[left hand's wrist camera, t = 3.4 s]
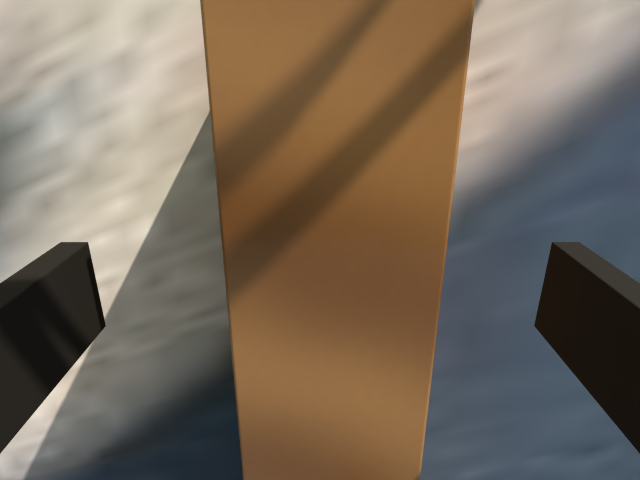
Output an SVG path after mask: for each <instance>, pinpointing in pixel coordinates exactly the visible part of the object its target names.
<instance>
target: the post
mask: <svg viewBox="0 0 640 480" xmlns="http://www.w3.org/2000/svg"><path fill="white" fill-rule="evenodd" d="M200 3H201V14H202V26H203V37H204V48H205V59H206V71H207V82H208V93H209V104H210V115H211V127H212V138H213V149H214V160H215V172H216V183H217V194H218V205H219V216H220V228H221V239H222V250H223V261H224V273H225V284H226V295H227V306H228V317H229V329H230V340H231V351H232V362H233V374H234V385H235V396H236V407H237V418H238V430H239V441H240V452H241V463H242V474H243V480H420V473H421V464H422V456H423V447H424V439H425V430H426V421H427V413H428V404H429V395H430V387H431V378H432V369H433V361H434V352H435V343H436V335H437V326H438V317H439V309H440V300H441V291H442V283H443V274H444V265H445V257H446V248H447V240H448V231H449V222H450V214H451V205H452V196H453V188H454V179H455V170H456V162H457V153H458V144H459V136H460V127H461V118H462V110H463V101H464V92H465V84H466V75H467V67H468V58H469V49H470V41H471V32H472V23H473V15H474V6H475V0H200Z"/></svg>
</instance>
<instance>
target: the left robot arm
mask: <svg viewBox="0 0 640 480" xmlns="http://www.w3.org/2000/svg"><path fill="white" fill-rule="evenodd" d="M105 326H106V325H105V320H104V316H103V311H102V306H101V302H100V297H99V292H98V287H97V283H96V278H95V273H94V269H93V264H92V259H91V254H90V250H89V245H88V242H61V243H59V244H58V245H56V246H55V247H53V248H52V249H50V250H49V251H47V252H46V253H44V254H43V255H41V256H40V257H38V258H37V259H36V260H34V261H33V262H31V263H30V264H28V265H27V266H25V267H24V268H22V269H21V270H19V271H18V272H16V273H15V274H13V275H12V276H10V277H9V278H8V279H6V280H5V281H3V282H2V283H0V453H1V452H2V451H3V449H4V448H5V447H6V446H7V445H8V443H9V442H10V441H11V440H12V439H13V437H14V436H15V435H16V434H17V433H18V431H19V430H20V429H21V428H22V426H23V425H24V424H25V423H26V422H27V420H28V419H29V418H30V417H31V416H32V414H33V413H34V412H35V411H36V410H37V408H38V407H39V406H40V405H41V403H42V402H43V401H44V400H45V399H46V397H47V396H48V395H49V394H50V393H51V391H52V390H53V389H54V388H55V387H56V385H57V384H58V383H59V382H60V380H61V379H62V378H63V377H64V376H65V374H66V373H67V372H68V371H69V370H70V368H71V367H72V366H73V365H74V363H75V362H76V361H77V360H78V359H79V357H80V356H81V355H82V354H83V353H84V351H85V350H86V349H87V348H88V347H89V345H90V344H91V343H92V342H93V340H94V339H95V338H96V337H97V336H98V334H99V333H100V332H101V331H102V330H103V328H104V327H105ZM534 326H535V327H536V328H537V330H538V331H539V332H540V333H541V334H542V336H543V337H544V338H545V339H546V340H547V342H548V343H549V344H550V345H551V347H552V348H553V349H554V350H555V351H556V353H557V354H558V355H559V356H560V357H561V359H562V360H563V361H564V362H565V363H566V365H567V366H568V367H569V368H570V370H571V371H572V372H573V373H574V374H575V376H576V377H577V378H578V379H579V380H580V382H581V383H582V384H583V385H584V387H585V388H586V389H587V390H588V391H589V393H590V394H591V395H592V396H593V397H594V399H595V400H596V401H597V402H598V403H599V405H600V406H601V407H602V408H603V410H604V411H605V412H606V413H607V414H608V416H609V417H610V418H611V419H612V420H613V422H614V423H615V424H616V425H617V426H618V428H619V429H620V430H621V431H622V433H623V434H624V435H625V436H626V437H627V439H628V440H629V441H630V442H631V443H632V445H633V446H634V447H635V448H636V449H637V451H638V452H639V453H640V283H638V282H637V281H635V280H634V279H632V278H631V277H629V276H628V275H627V274H625V273H624V272H622V271H621V270H619V269H618V268H616V267H615V266H613V265H612V264H610V263H609V262H607V261H606V260H604V259H603V258H602V257H600V256H599V255H597V254H596V253H594V252H593V251H591V250H590V249H588V248H587V247H585V246H584V245H582V244H581V243H579V242H552V245H551V250H550V254H549V259H548V264H547V269H546V273H545V278H544V283H543V287H542V292H541V297H540V302H539V306H538V311H537V316H536V320H535V325H534Z"/></svg>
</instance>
